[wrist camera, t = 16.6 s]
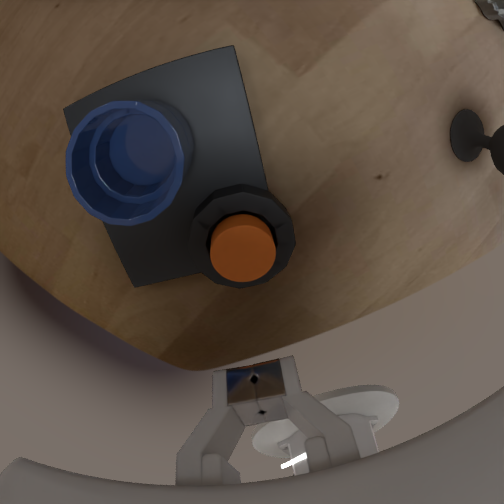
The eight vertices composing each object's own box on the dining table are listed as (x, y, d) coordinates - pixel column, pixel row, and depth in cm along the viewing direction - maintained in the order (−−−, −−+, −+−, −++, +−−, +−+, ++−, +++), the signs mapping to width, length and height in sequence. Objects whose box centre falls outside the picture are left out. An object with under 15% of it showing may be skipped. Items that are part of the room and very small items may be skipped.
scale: (292, 253, 23) (301, 274, 20) (142, 288, 23) (134, 311, 21) (247, 45, 15) (251, 35, 12) (70, 107, 15) (49, 111, 13)
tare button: (276, 260, 20) (281, 274, 18) (220, 273, 20) (220, 288, 19) (265, 207, 18) (269, 218, 16) (203, 222, 18) (201, 234, 17)
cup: (206, 179, 18) (199, 206, 14) (119, 205, 18) (92, 238, 14) (179, 86, 15) (163, 81, 11) (90, 121, 15) (51, 131, 11)
